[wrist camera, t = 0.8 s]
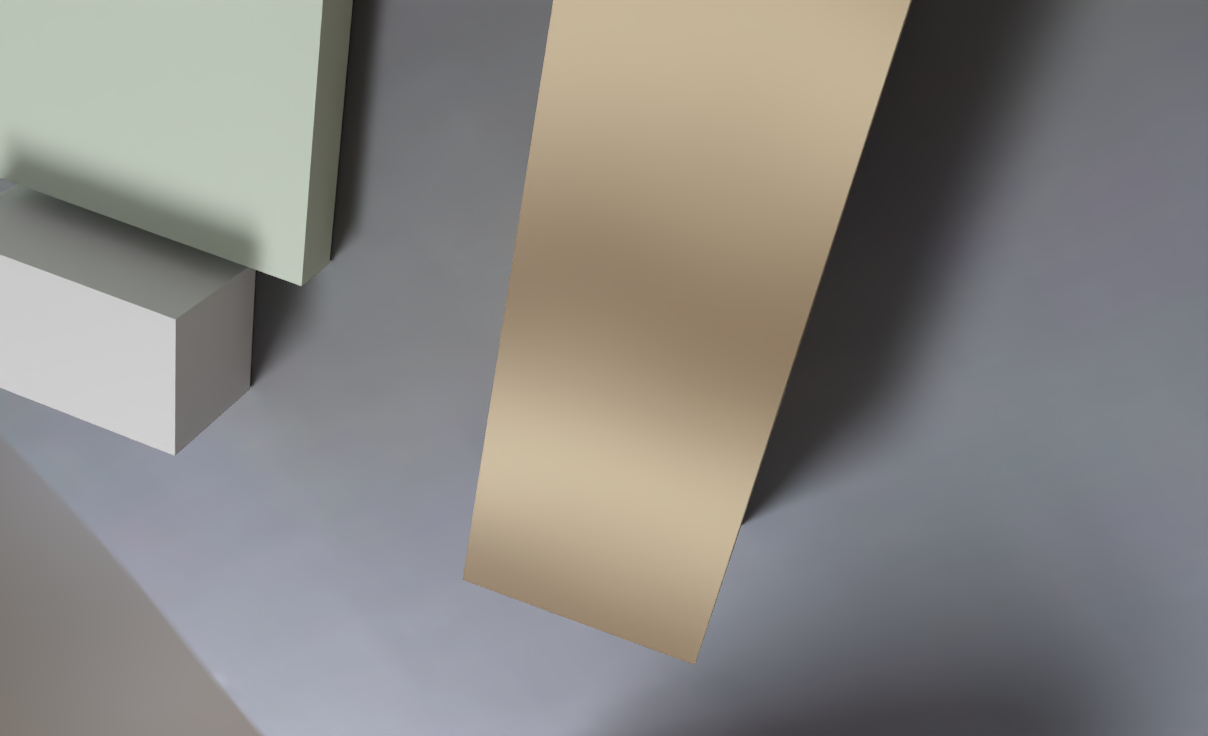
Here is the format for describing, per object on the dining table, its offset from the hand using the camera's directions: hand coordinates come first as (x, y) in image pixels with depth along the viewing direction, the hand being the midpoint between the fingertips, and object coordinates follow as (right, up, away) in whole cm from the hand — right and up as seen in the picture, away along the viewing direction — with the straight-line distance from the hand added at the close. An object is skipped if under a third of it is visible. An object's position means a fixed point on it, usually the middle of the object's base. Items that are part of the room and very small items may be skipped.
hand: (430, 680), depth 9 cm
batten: (+3, +5, +9) cm, 11 cm away
